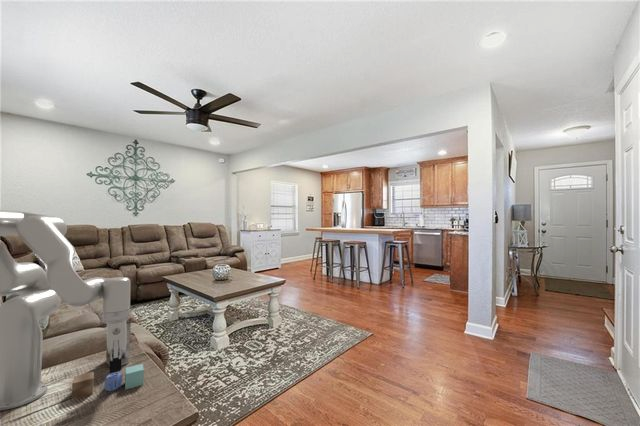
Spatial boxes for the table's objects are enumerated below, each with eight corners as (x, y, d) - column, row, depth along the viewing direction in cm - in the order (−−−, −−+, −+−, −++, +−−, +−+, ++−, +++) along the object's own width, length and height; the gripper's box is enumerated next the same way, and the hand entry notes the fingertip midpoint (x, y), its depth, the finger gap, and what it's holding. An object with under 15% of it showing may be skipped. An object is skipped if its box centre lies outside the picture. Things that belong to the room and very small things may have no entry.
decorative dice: (103, 392, 91) (104, 379, 91) (107, 385, 94) (108, 373, 94) (118, 389, 92) (119, 377, 92) (122, 383, 96) (122, 371, 96)
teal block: (125, 389, 92) (125, 374, 92) (124, 382, 96) (125, 367, 96) (143, 384, 95) (143, 369, 95) (142, 378, 99) (142, 363, 99)
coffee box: (105, 360, 112) (106, 319, 112) (124, 355, 116) (125, 316, 117) (109, 368, 105) (111, 325, 106) (130, 363, 110) (131, 321, 111)
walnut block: (71, 400, 87) (72, 383, 87) (73, 392, 91) (74, 376, 91) (92, 394, 89) (93, 378, 90) (93, 387, 94) (94, 371, 94)
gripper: (131, 318, 91) (129, 377, 90) (129, 308, 103) (128, 359, 102) (101, 323, 86) (100, 385, 85) (103, 311, 98) (101, 365, 97)
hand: (115, 370), depth 94 cm, fingers closed
